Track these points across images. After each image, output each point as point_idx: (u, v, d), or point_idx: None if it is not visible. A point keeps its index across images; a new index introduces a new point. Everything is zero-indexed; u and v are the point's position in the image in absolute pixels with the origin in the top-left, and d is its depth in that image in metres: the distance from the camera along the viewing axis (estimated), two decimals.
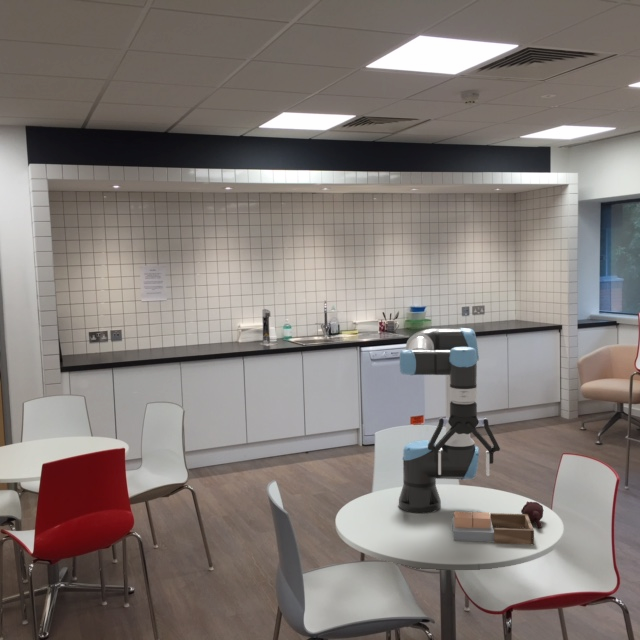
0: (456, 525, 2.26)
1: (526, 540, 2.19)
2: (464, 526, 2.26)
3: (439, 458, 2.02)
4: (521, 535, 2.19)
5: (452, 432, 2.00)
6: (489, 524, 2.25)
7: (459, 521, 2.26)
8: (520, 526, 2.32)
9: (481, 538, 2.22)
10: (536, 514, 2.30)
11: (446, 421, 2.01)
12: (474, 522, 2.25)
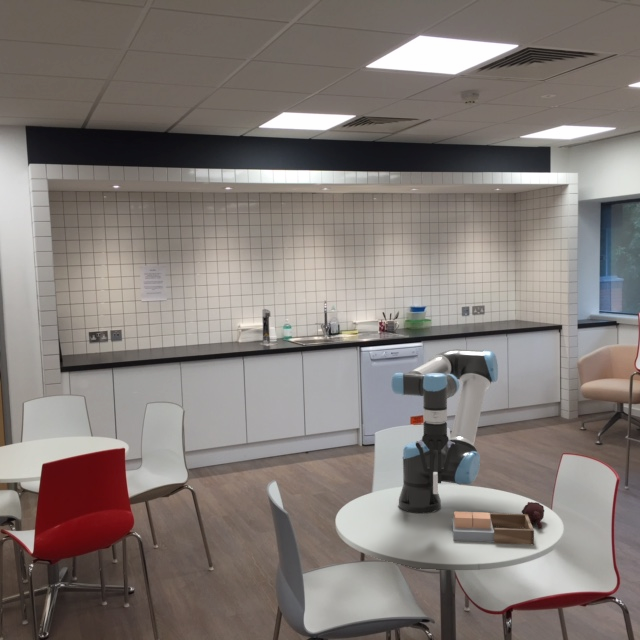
0: (456, 525, 2.26)
1: (526, 540, 2.19)
2: (464, 526, 2.26)
3: (434, 479, 2.27)
4: (521, 535, 2.19)
5: (431, 451, 2.26)
6: (489, 524, 2.25)
7: (459, 521, 2.26)
8: (520, 526, 2.32)
9: (481, 538, 2.22)
10: (536, 514, 2.30)
11: (421, 442, 2.27)
12: (474, 522, 2.25)
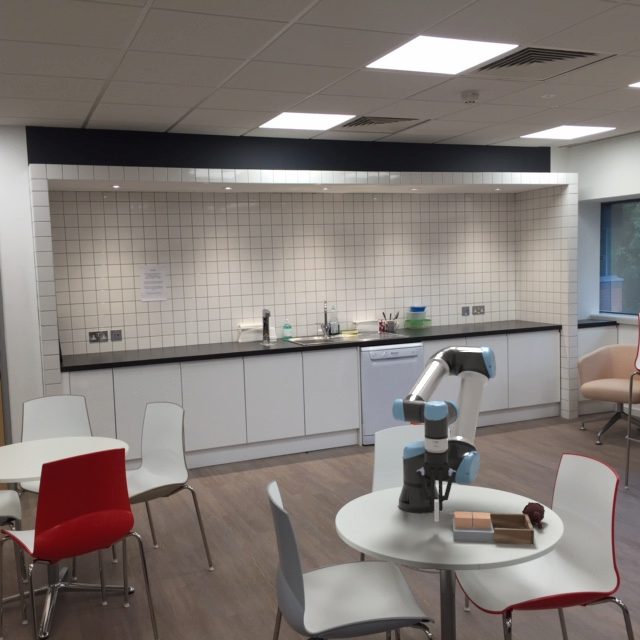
0: (456, 525, 2.26)
1: (526, 540, 2.19)
2: (464, 526, 2.26)
3: (435, 507, 2.28)
4: (521, 535, 2.19)
5: (432, 479, 2.27)
6: (489, 524, 2.25)
7: (459, 521, 2.26)
8: (520, 526, 2.32)
9: (481, 538, 2.22)
10: (537, 515, 2.30)
11: (422, 470, 2.28)
12: (474, 522, 2.25)
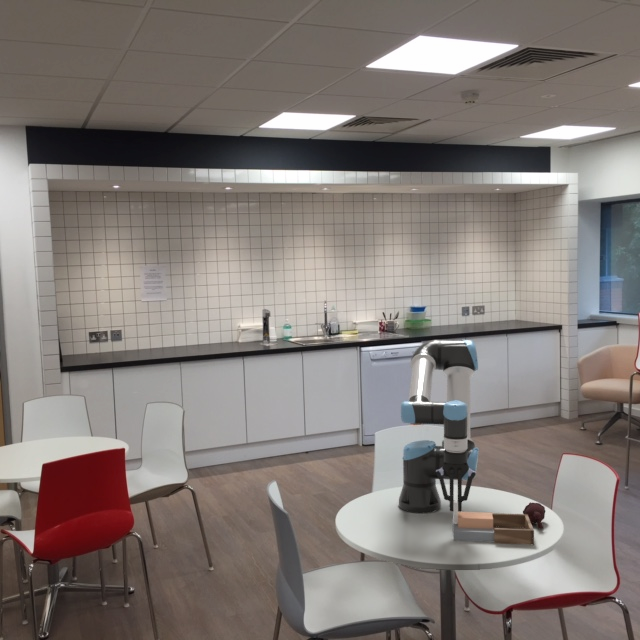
0: (459, 525, 2.26)
1: (526, 540, 2.19)
2: (467, 526, 2.26)
3: (454, 507, 2.27)
4: (521, 535, 2.19)
5: (451, 479, 2.26)
6: (491, 524, 2.24)
7: (463, 522, 2.26)
8: (520, 526, 2.32)
9: (481, 538, 2.22)
10: (537, 515, 2.30)
11: (441, 470, 2.27)
12: (476, 522, 2.25)
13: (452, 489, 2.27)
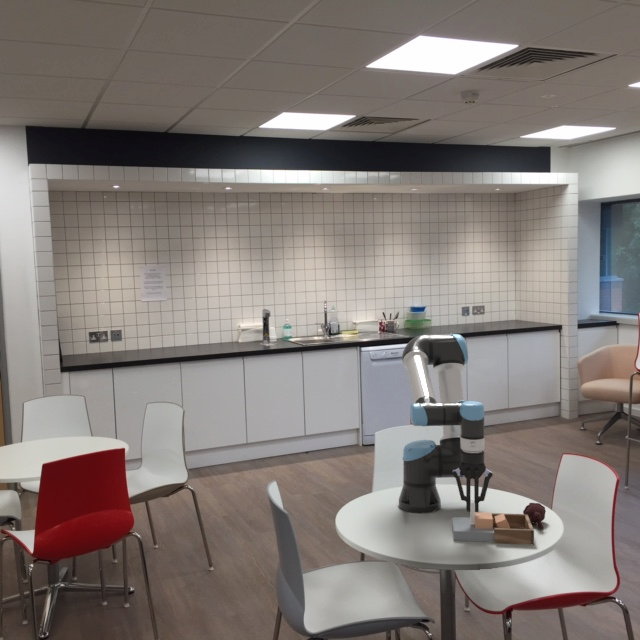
0: (476, 526, 2.25)
1: (526, 540, 2.19)
2: (484, 527, 2.25)
3: (471, 508, 2.26)
4: (521, 535, 2.19)
5: (468, 479, 2.25)
6: None
7: (480, 522, 2.25)
8: (520, 526, 2.32)
9: (481, 538, 2.22)
10: (537, 515, 2.29)
11: (458, 471, 2.27)
12: (501, 522, 2.24)
13: (469, 489, 2.26)
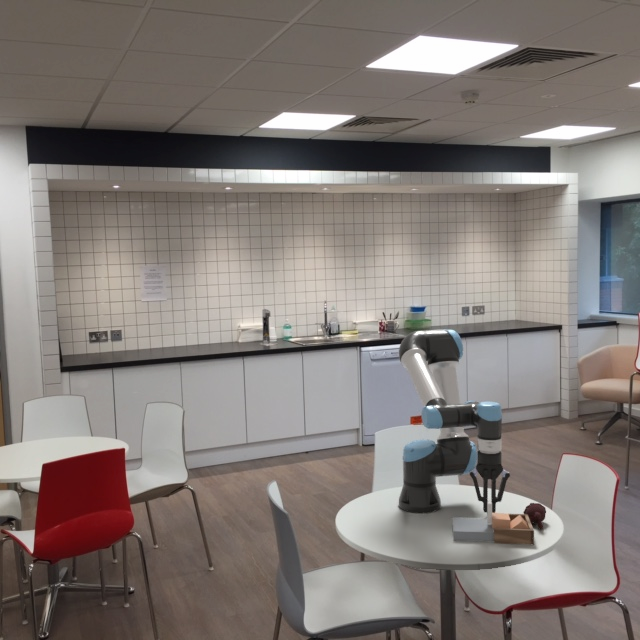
0: (494, 526, 2.24)
1: (526, 540, 2.19)
2: None
3: (488, 508, 2.25)
4: (521, 535, 2.19)
5: (485, 480, 2.24)
6: None
7: (497, 523, 2.24)
8: None
9: (481, 538, 2.22)
10: (537, 515, 2.29)
11: (475, 471, 2.26)
12: (524, 526, 2.23)
13: (486, 490, 2.25)
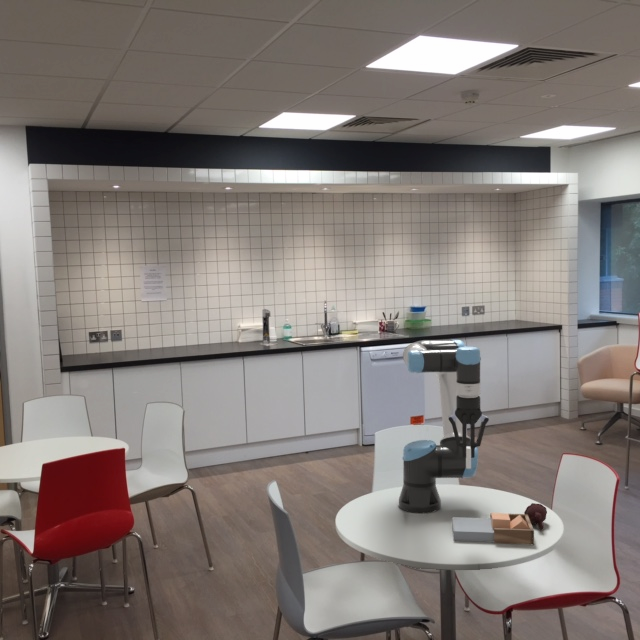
0: (493, 526, 2.24)
1: (526, 540, 2.19)
2: None
3: (467, 453, 2.25)
4: (521, 535, 2.19)
5: (464, 425, 2.24)
6: None
7: (497, 523, 2.24)
8: None
9: (481, 538, 2.22)
10: (538, 516, 2.29)
11: (454, 416, 2.25)
12: (524, 526, 2.23)
13: (465, 435, 2.25)
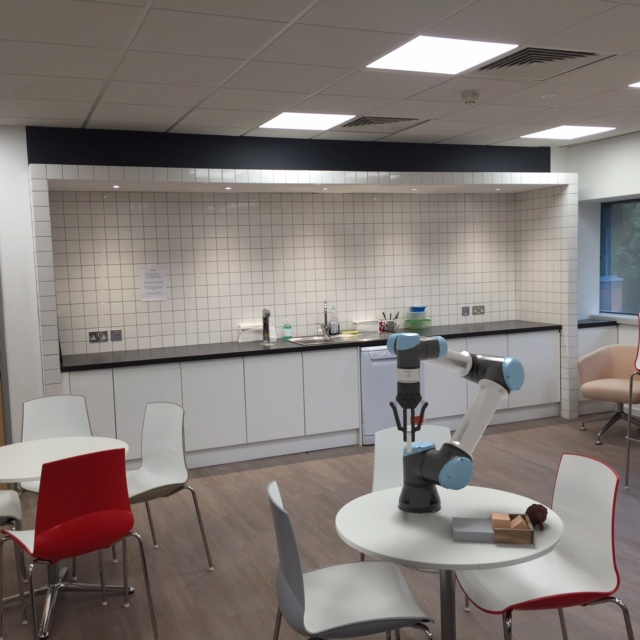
0: (493, 526, 2.24)
1: (526, 540, 2.19)
2: None
3: (407, 438, 2.29)
4: (521, 535, 2.19)
5: (404, 409, 2.28)
6: None
7: (497, 523, 2.24)
8: None
9: (481, 538, 2.22)
10: (538, 516, 2.29)
11: (395, 401, 2.30)
12: (524, 526, 2.23)
13: (405, 419, 2.29)
